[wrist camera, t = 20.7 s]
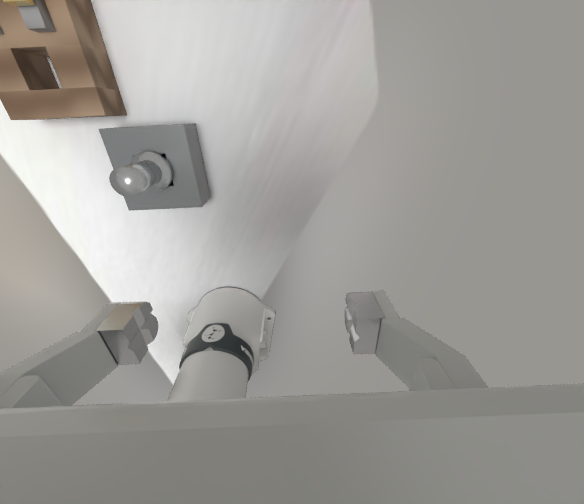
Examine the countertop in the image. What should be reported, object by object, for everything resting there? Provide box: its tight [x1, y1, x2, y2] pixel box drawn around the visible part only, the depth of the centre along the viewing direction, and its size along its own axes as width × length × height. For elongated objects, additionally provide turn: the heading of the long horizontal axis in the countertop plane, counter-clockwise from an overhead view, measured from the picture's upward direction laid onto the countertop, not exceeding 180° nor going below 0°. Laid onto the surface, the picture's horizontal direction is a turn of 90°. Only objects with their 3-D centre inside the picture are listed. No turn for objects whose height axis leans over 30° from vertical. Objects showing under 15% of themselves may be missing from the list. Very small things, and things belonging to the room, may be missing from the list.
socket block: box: [0, 0, 127, 120], centre depth 29 cm, size 16×12×6 cm
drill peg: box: [110, 151, 173, 197], centre depth 34 cm, size 5×5×12 cm
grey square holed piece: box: [99, 124, 211, 210], centre depth 37 cm, size 11×11×5 cm
